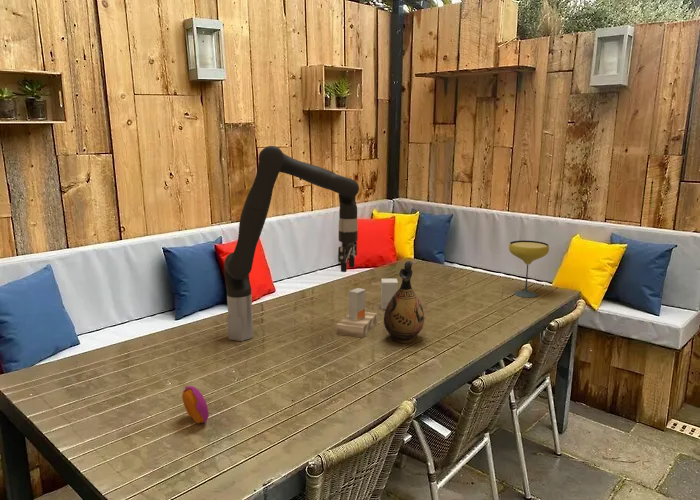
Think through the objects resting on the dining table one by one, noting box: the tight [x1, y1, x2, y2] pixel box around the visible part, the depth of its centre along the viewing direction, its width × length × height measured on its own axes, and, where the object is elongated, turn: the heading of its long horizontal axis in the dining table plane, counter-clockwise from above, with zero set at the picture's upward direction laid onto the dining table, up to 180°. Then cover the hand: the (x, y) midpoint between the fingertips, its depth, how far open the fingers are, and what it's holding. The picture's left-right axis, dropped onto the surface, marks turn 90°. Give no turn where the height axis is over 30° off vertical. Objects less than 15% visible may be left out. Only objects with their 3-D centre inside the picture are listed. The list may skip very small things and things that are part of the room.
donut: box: [181, 385, 210, 424], centre depth 149 cm, size 8×9×10 cm
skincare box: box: [348, 287, 366, 321], centre depth 218 cm, size 6×4×12 cm
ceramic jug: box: [383, 260, 425, 344], centre depth 206 cm, size 17×15×30 cm
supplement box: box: [380, 278, 399, 311], centre depth 244 cm, size 7×7×13 cm
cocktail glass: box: [508, 240, 550, 298], centre depth 261 cm, size 18×18×25 cm
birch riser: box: [336, 311, 378, 338], centre depth 219 cm, size 18×11×4 cm, turn 159°
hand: (347, 269), depth 216 cm, fingers open, 8 cm apart
